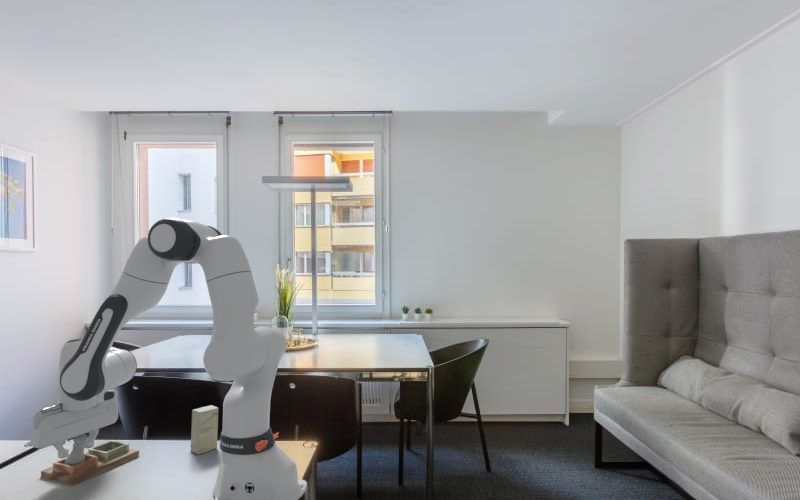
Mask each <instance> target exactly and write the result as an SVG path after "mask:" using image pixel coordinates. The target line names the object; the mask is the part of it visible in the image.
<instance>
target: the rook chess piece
mask: <svg viewBox="0 0 800 500" xmlns="http://www.w3.org/2000/svg"><path fill="white" fill-rule="evenodd" d="M88 437H89V435H88V434H87V433H85V434H82V435H79V436H77V437H74V438H73V444H72V450H71V452H69V453H68V454H69V455H68V456H67V457H65V458H66V459H65V458H64V459H65V462H64V464H66V465H70V466H74V465H76V464H78V463H81V462H83V461H85V455H84V452H85V448H84V447H85V446H86V442H87V441H88Z"/></svg>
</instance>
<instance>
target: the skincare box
mask: <svg viewBox="0 0 800 500" xmlns="http://www.w3.org/2000/svg"><path fill="white" fill-rule="evenodd" d="M218 429H219V407H218V406H215V405H212V404H210V405H206V406H201V407H198V408H194V409H192V411H191V430H190V431H191V432H190V452H192V453H194V454H195V455H201V454H203V453H207V452H210V450H211V451H213V450H212V449H214V450H216V449H218V431H219V430H218ZM215 448H216V449H215Z"/></svg>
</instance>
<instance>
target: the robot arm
mask: <svg viewBox="0 0 800 500" xmlns="http://www.w3.org/2000/svg"><path fill="white" fill-rule="evenodd" d="M182 263H184V264H193V265H194V264H199V266H201V268H202V271H203V274H204V278H205V282H206V286H207V290H208V295H209V298H210V303H211V309H212V317H213V319H212V321H213V322H212V334H211V338H210V341H209V343H208V345H207V346H206V348H205V350H204V352H203V358H202V361H203V367H204V369H205V372H206V373H207V375H208V376H209V377H210V378H211V379H213V380H216V381H220V382H228V381H229V382H230V381H233V382H232V385H231V387H230V389H228V392H227V393H226V395H225V396H224V398H223V403H222V407H223V408H222V429H221V431H220V434H219V435H220V437H219V449H220V450H221V452H220V460H219V467H218V471H217V472H218V473H217V477H216V481H215V485H214V487H213V490H212V495H213V497H214V500H299V499H300V498H301V497H302V496H303V495H304V494H305V493H306V491H307V488H308V484H307V482H308V481H306V480H305V479H302V478H300V477H299V476H298V468H297V465H296V462H295V461H294V460H293V459H292V458H291V457H290V456H288V454H286V453H285V452H284V451H283V450H282V449H281V447H279V446H278V445H277V444H276V440H275V439H277V438H278V437H279V433H280V432H278V431H277V432H276V433H273V431H272V428H271V425H270V421H271V420H270V414H271V398H272V391H273V387H274V383H275V378H276V375H277V371H278V368H279V365H280V362H281V360H282V358H283V356H284V355H285V353H286V350H287V339H286V337H285V334H284V333H283V332H282V331H281V330H279V329H278V328H276V327H272V326H271V327H270V326H265V325H262V326H256V327H255V312H256V309H257V307H258V304H259V301H260V300H259V296H258V291H257V288H256V287H257V286H256V284H255V279H254V276H253V273H252V269H251V266H250V263H249V259H248V257H247V255H246V252H245V250H244V248H243V246H242V244H241V242H240V241H239V240H238V239H237V237H234V236H232V235H226V234H222V232H221V231H220V230H218V229H216V228H215V227H213V226H211V225H207V224H203V223H200V222H197V221H196V220H195V221H194V220H189V219H182V218H178V217H177V218H176V217H170V218H163V219H159V220H157V221H156V222H155V223H153V224H152V226H151V227H150V229H149V231H148V234H147V235H144V236H142V237H141V238H140V239H139V240H138V241H137V243H136V244H135V246H134V247H133V249H132V250H131V253H130V254H129V256H128V258H127V260H126V262H125V265H124V267H123V270H122V272H121V274H120V278H119V279H118V281H117V283H116V284H115V286H114V288H113V289H112V291H111V293H110V294H109V295H108V297H106V299H105V300H104V302H103V303H102V304H101V305H100V307H99V308H98V310H97V311H96V313H95V315H94V317H93V318H92V321H91V323H90V325H89V327H88V329H87V331H86V333H84V334H85V335H84V337H79V338H76V339H70V340H68V341H65V343H64V344H63V346H62V348H61V351H60V355H59V364H58V375H59V385H58V388H57V402H56V405H51V406H48V407H44V408H41V409H40V410H39V411H38V412H36V414H34V415H33V419H32V420H33V421H32V430H31V434H30V441H29V444H30V445H31V447H33V448H36V449H42V450H43V449H45V448H48V447H51V446H53V447H54V449H55V450H56V451H57V458H58V459H60V460H62V459H65V458H66V457H67V456H69V454H70V449H68V448H64V446H65V444H66V441H68V440H71V439H74V438H76V437H77V436H79V435H84V434H87V433H88V441H87V442H86V446H85V447H84V449H90V448H93V447H95V446H94V445H95V440H96V438H97V436H98V435H99V432H100V429H102V428H104V427H105V428H106V427H107V426H110V425H113V424H115V423H116V422H117V420H118V419H119V402H118V399H117V397H118V391H117V390H115V389H114V388H116V387H119V386H121V385H124V384H126V383H127V382H129V381H131V380H132V379H133V378H134V376H135V375H136V372H137V368H138V363H137V359H136V357H135V355H134V354H133V353H132V352H130V350H127V349H121V348H118V347H115V346H113V344H114V342H115V340H116V338H117V337H118V334H119V332H120V331H121V329H122V328H124V326H125V325H126V324H127V323H129V322H130V321H131V320H133V319H134V318H136V317H137V316H139V315H141V314H143V313H145V312H147V311H149V310H151V309H153V308H154V307H155V306H157V305H158V304H159V303H160V301H161V300H162V298H163V296H164V295H165V294H166V292H167V289H168V286H169V284H170V282H171V277H172V275H173V273H174V270H175V268H176V267H177V266H178V265H179V264H182Z"/></svg>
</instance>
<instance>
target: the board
mask: <svg viewBox="0 0 800 500" xmlns="http://www.w3.org/2000/svg"><path fill="white" fill-rule="evenodd" d="M84 455H85V461H83V462H81V463H78V464H76V465H74V466H70V465H66V464H64V462H65V459H66V457H65V458H62V459H60V460H57V461H54V462H53V463H52V466H51V467H48V468H46V469H43V470H40V478H43V479H47V480H51V481H53V482H54V481H55V482H58V483H63V484H67V485H70V486H75V485H78V484H80V483H82V482H84V481H87V480H89V479H90V478H93V477H95V476H97V475H100V474H102V473H104V472H107V471H109V470H111V469H113V468H115V467H118V466H119V465H121V464H124V463H127V462H129V461H131V460H132V459H136V458H137V456H138V457H139V456H140V450H138V449H133V448H130V443H129V442H122V441H118V440H114V439H111V440H108V441H106V442H104V443H100V444H99V445H96V446H93V447H91V448H88V452H86V453H84Z"/></svg>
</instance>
